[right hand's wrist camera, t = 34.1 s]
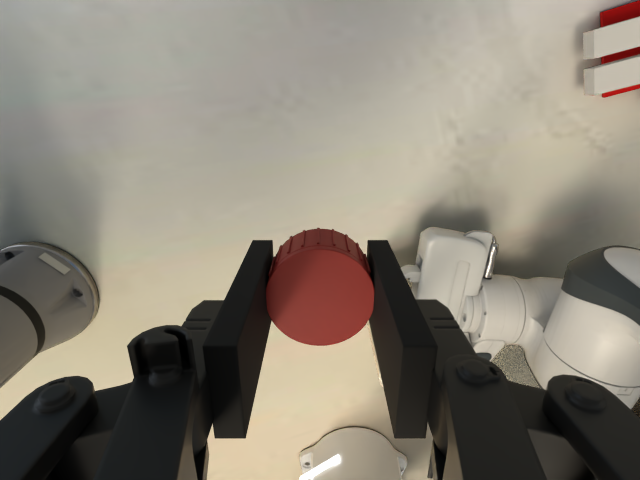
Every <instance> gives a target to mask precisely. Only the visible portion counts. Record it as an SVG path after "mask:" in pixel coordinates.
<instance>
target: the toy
mask: <svg viewBox="0 0 640 480" xmlns="http://www.w3.org/2000/svg"><path fill="white" fill-rule="evenodd" d="M600 27H601V28H598V29H594V30H591V31H587V32H584V33H583V60H587V59H595V58H599V57H601V65H598V66H594V67H590V68H586V69H584V95H598V94H602V97H608V96H612V95H616V94H620V93H624V92H627V91H631V90H635V89H639V88H640V0H639V1H636V2H632V3H629V4H626V5H623V6H620V7H617V8H613V9H610V10H607V11H604V12H601V13H600Z"/></svg>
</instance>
